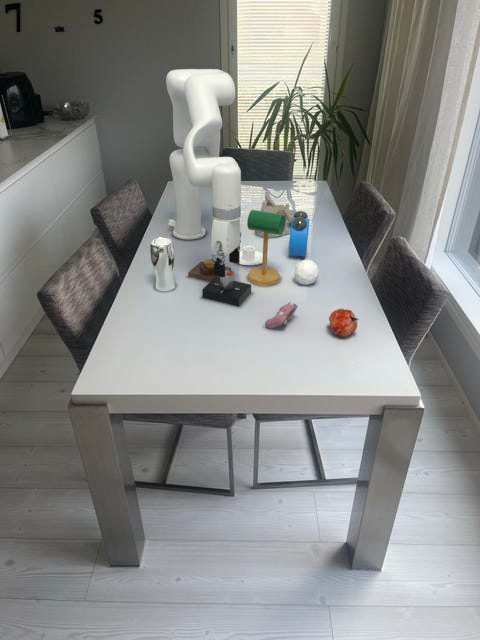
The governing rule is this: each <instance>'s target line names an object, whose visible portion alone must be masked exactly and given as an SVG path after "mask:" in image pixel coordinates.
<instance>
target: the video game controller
mask: <svg viewBox="0 0 480 640" xmlns="http://www.w3.org/2000/svg"><path fill="white" fill-rule="evenodd" d="M298 307H299V306H298V304H296V303H295V302H292V301H290V302H288V303H286V304H284V305H282V306H280V308H279V309H278V312H277V313H276V315H274V316H273V317H271V318H269V319H267V320H265V322H264V326H265V328H268V329H275V328H278V327H282V325H287V323H288V321H289V320H290V319H291V318H290V317H291V316H292V315H293V314H294V313H295V312H296V311H297V309H298Z"/></svg>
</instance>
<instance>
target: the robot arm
mask: <svg viewBox="0 0 480 640" xmlns="http://www.w3.org/2000/svg"><path fill="white" fill-rule="evenodd" d="M165 85H166V89H167V90H166V91H167V93H168V96H169V98H170V101H171V104H172V120H173V121H172V123H173V124H172V128H173V129H172V130H173V131H172V132H173V141H174V144H175V145H176V146H177V147H179V149H176V150H175V149H174V150H173V151H172V152H171V153H170V155H169V166H170V172H171V176H172V177H171V178H172V182H173V183H172V184H173V194H174V209H175V219H169V220H168V227H169V228H170V227H171V228H173V230H172V235H173V236H174V237H175V238H177V239H179V240H184V241H185V240H186V241H191V240H198V239H201V238H203V237H205V235H206V232H207V231H206V229H205V228H204V227H203V226H202V206H201V205H202V204H201V188H210V187H212V188H211V189H212V218H213V219H212V225H211V237H210V239H211V241H210V250H211V253H210V256H211V259H212V261H213V263H214V275H215V276H219V277H225V267H226V263H225V261H226V256H228V262H229V263H232V264H237V265H240V264H239V262H240V251H241V246H240V245H241V243H242V242H241V241H242V239H241V238H242V231H241V220H240V219H241V216H242V214H241V213H242V212H241V211H242V210H241V204H242V201H241V200H242V199H241V198H242V171H241V168H240V166H239V164H238V162H237V161H236V160H235V159H234V157H232V156H220V151H221V129H222V128H223V119H222V114H221V111H220V110H221V109H220V106H221V107H222V106H223V107H224V106H232V104H233V103H234V102H235V99H236V85H235V82H234V79H233V78H232V76H231V74H230V73H228V72H226V71H223V70H221V69H218V68H183V69H182V68H181V69H180V68H179V69H173V70H169V72H168V73H167V75H166V77H165ZM219 256H220V257H221V258H220V257H219Z"/></svg>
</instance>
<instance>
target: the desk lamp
mask: <svg viewBox="0 0 480 640" xmlns="http://www.w3.org/2000/svg"><path fill="white" fill-rule="evenodd" d="M246 220H247V222H246V226H247V229H248V230H249V231H254V232H256V231H260V232H264V237H262V238H263V241H262V253H263V262H262V263H261V266H260V267H255V268H252V269H251V270H250V271H248V277H247V278H248V282H250V283H252V284H254V285H257V286H260V287H266V286H268V287H269V286H270V287H271V286H274V285H276V284H278V283H279V282H280V278H281V277H280V276H281V274H280V272H279V271H278V270H276V269H275V268H272V267H268V249H269V248H268V244H269V238H268V233H271V234H276V235H282V233H283V231H284V228H285V222H286V218H285V215H282V214H276V213H270V212H264V211H261V210H257V209H251V210H250V211H249V213H248V215H247V219H246ZM282 236H283V235H282Z"/></svg>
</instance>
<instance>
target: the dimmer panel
mask: <svg viewBox="0 0 480 640" xmlns="http://www.w3.org/2000/svg"><path fill="white" fill-rule="evenodd" d="M251 294H252V284H251V283H246V282H242V281H237V280H234V287H233V288H232V289H230V290H224V289H221V287H220V277H215V278H214V279H213V280H212V281H211V282H208V283H207V284H206V285H205V286H204V287H203V288H201V295H202V297H201V298H202V299H205V300H210V301H214V302H218V303H222V304H226V305H231V306H234V307H240V306H241V305H242V304H243V303H244V302H245V301H246V300H247V298H248V297H249V296H250V295H251Z"/></svg>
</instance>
